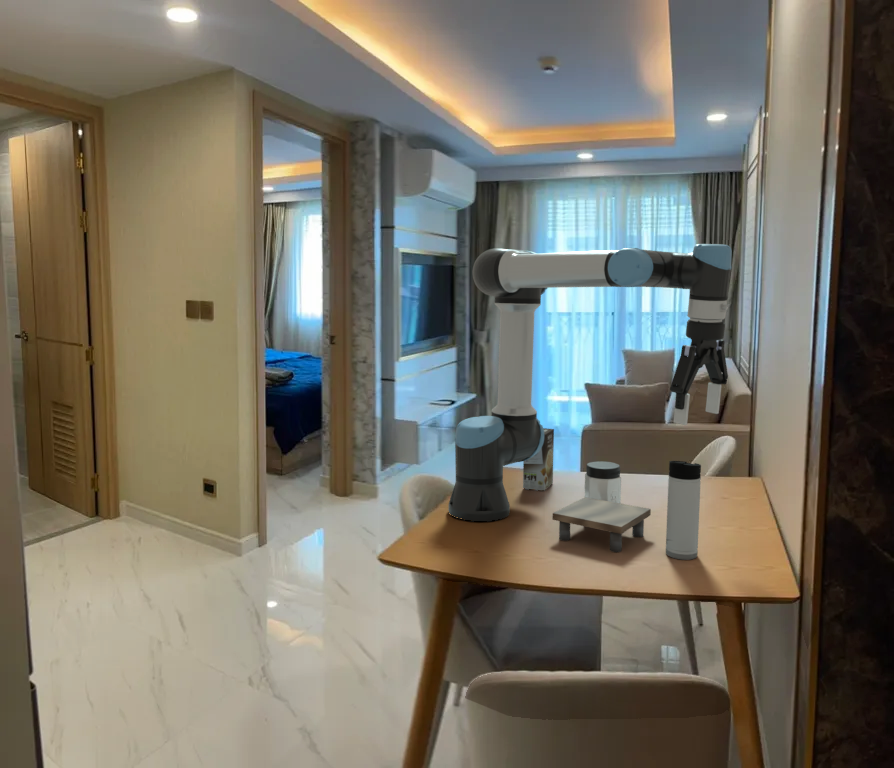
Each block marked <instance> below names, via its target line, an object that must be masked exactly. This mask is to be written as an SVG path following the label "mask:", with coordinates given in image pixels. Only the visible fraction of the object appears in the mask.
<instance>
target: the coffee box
mask: <svg viewBox="0 0 894 768" xmlns="http://www.w3.org/2000/svg"><path fill="white" fill-rule="evenodd" d="M543 429H544V443H543V446H542V448H541V449H540V451H539V452H538V453H537V454H536V455H535V456H533V457H531V458H529V459H527V460H525V461H522V462H523V468H522V469H523V470H522V471H523V472H522V476H523V477H522V489H523V488H525V489H524V490H529V489H535V490H534V491H538V490H544V491H546V490H547V489H548V488H549V487H551V486H552V485H553V484H554V450H555V449H554V441H555V440H554V439H555V438H554V437H555V435H554V434H555V429H554V428H545V427H543ZM552 483H553V484H552ZM551 484H552V485H551ZM550 485H551V486H550ZM547 487H548V488H547ZM546 488H547V489H546ZM545 489H546V490H545Z"/></svg>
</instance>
